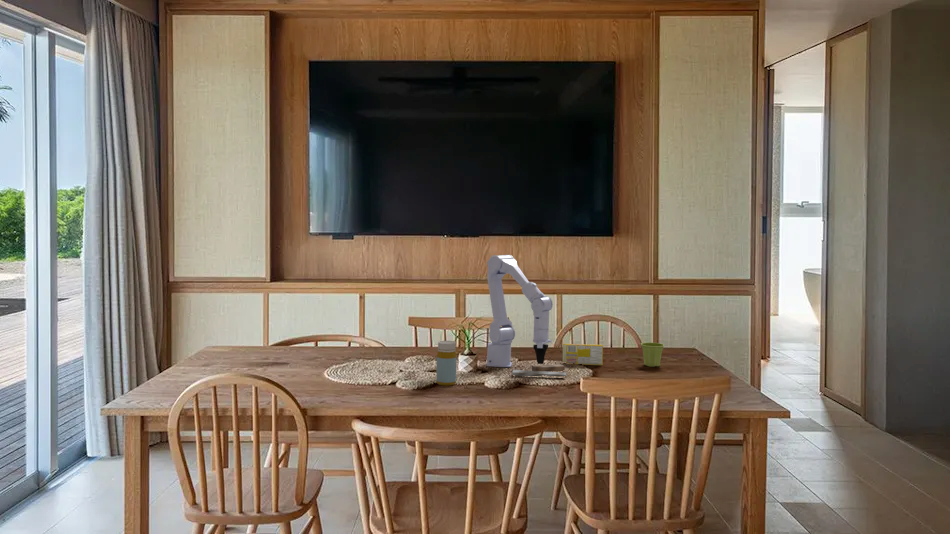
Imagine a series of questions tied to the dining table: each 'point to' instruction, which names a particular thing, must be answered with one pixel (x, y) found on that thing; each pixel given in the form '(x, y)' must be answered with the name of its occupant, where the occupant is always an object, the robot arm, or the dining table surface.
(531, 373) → the floor strip
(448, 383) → the bottle
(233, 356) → the dining table surface
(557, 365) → the plank
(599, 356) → the candy box
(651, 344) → the plant pot
